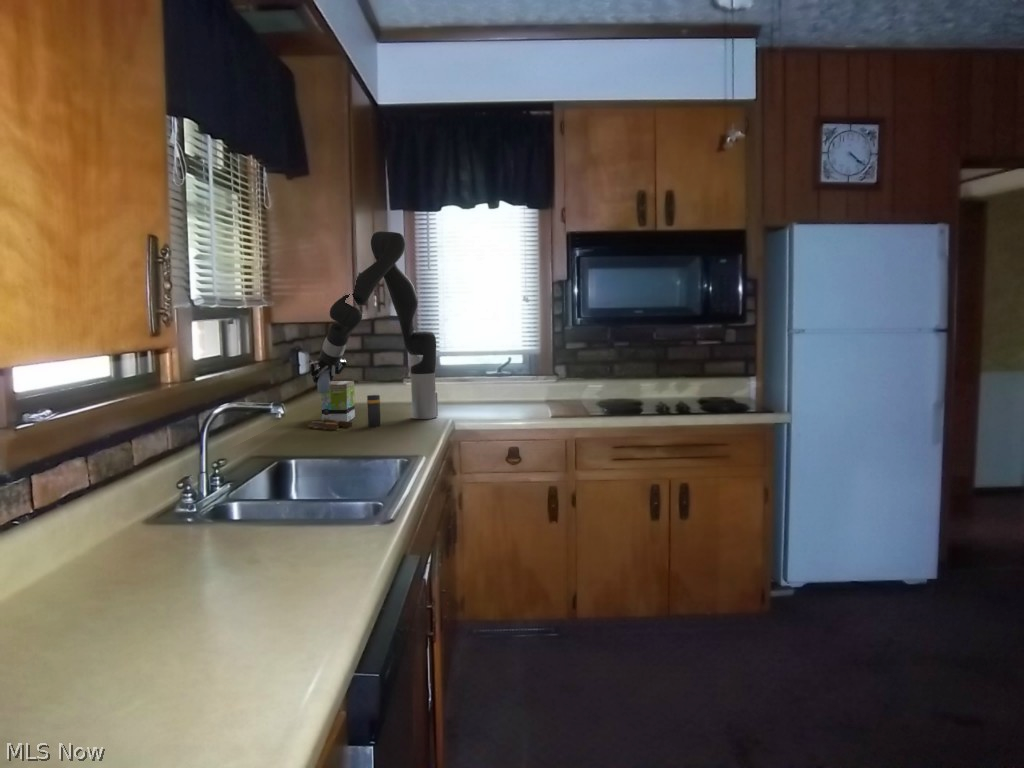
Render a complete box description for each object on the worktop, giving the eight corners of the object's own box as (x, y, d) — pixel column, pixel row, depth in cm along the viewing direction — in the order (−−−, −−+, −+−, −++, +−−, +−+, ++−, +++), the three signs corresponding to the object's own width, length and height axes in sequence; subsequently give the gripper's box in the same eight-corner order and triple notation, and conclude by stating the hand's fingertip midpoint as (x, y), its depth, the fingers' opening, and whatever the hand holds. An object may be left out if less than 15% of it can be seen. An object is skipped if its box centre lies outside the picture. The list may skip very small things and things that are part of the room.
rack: (325, 424, 299) (325, 418, 299) (352, 427, 291) (352, 421, 291) (309, 427, 292) (308, 421, 292) (335, 430, 284) (335, 423, 284)
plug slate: (324, 391, 295) (323, 361, 294) (333, 392, 292) (331, 361, 291) (315, 392, 291) (313, 362, 290) (323, 393, 289) (322, 362, 288)
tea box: (348, 423, 302) (346, 383, 301) (321, 423, 302) (319, 384, 301) (355, 417, 317) (354, 379, 316) (330, 418, 317) (328, 380, 316)
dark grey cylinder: (374, 424, 297) (373, 394, 296) (383, 425, 294) (382, 395, 293) (365, 426, 293) (364, 395, 292) (374, 427, 290) (373, 396, 289)
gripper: (349, 339, 288) (336, 372, 299) (310, 341, 280) (299, 374, 291) (356, 355, 284) (343, 387, 295) (317, 357, 276) (305, 390, 287)
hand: (321, 380), depth 293 cm, fingers closed on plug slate, 4 cm apart
